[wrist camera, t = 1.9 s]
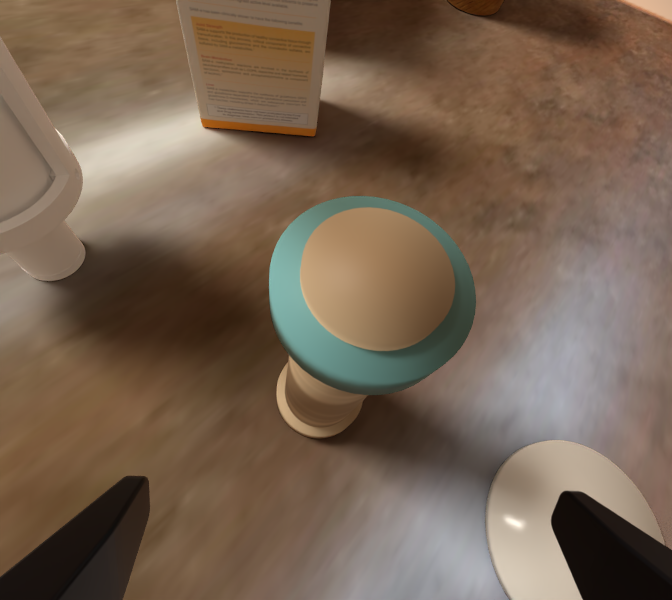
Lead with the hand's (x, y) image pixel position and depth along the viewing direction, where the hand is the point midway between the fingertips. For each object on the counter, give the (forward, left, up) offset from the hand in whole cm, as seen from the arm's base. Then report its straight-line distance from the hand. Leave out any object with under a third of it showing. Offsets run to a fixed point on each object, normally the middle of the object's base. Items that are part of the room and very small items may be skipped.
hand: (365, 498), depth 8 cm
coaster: (+7, -11, -11) cm, 17 cm away
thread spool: (+4, +3, -11) cm, 12 cm away
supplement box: (+17, +20, -11) cm, 28 cm away
